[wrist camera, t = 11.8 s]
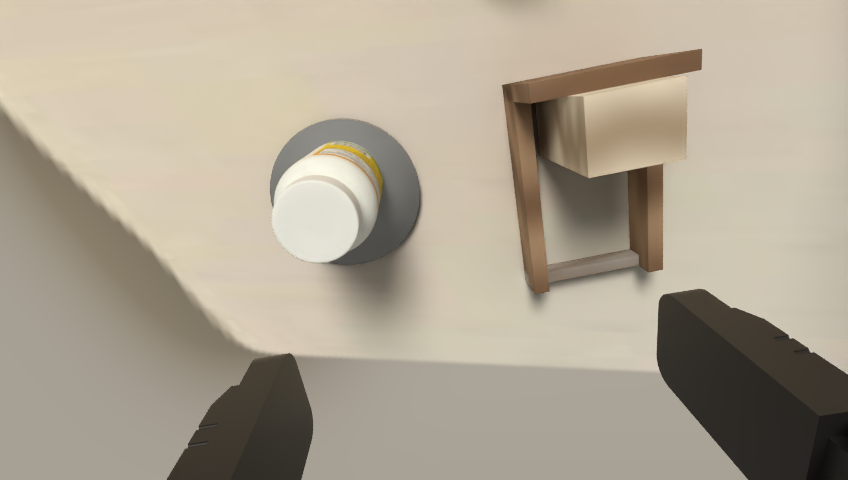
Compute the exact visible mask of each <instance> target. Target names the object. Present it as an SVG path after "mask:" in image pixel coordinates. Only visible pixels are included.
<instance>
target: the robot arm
mask: <svg viewBox="0 0 848 480" xmlns="http://www.w3.org/2000/svg"><path fill="white" fill-rule="evenodd" d="M657 362H658V366H659V370H660V372H661V375H662V377H663V379H664V381H665V382H666V384H667V385H668V386H669V388H670V389H671V390H672V391H673V392H674V393H675V395H676V396H677V397H678V398H679V399H680V400H681V401H682V403H683V404H684V405H685V406H686V407H687V409H688V410H689V411H690V412H691V413H692V414H693V416H694V417H695V418H696V419H697V420H698V421H699V423H700V424H701V425H702V426H703V427H704V428H705V430H706V431H707V432H708V433H709V434H710V436H712V438H713V439H714V440H715V441H716V442H717V444H718V445H719V446H720V447H721V448H722V450H723V451H724V452H725V453H726V454H727V455H728V456H729V458H730V459H731V460H732V461H733V462H734V464H735V465H736V466H737V467H738V468H739V469H740V471H741V472H742V473H743V474H744V475H745V476H746V478H747V479H748V480H848V375H847V374H846V373H844V372H843V371H841V370H840V369H838V368H837V367H835V366H834V365H832V364H831V363H829V362H828V361H826V360H825V359H823V358H822V357H820V356H819V355H817V354H816V353H814V352H813V353H810V351H809V349H808V348H807V347H805V346H804V345H802V344H801V343H799V342H798V341H796V340H795V339H790V338H789V336H788V335H787V334H786V333H784V332H783V331H781V330H780V329H778V328H777V327H775V326H774V325H772V324H771V323H769V322H768V321H766V320H765V319H763V318H760V317H757V316H755V315H752V314H750V313H747V312H745V311H742V310H739V309H737V308H730V307H729V306H728V305H726V304H725V303H723V302H722V301H720V300H719V299H718V298H716V297H715V296H713V295H712V294H710V293H709V292H708V291H706V290H703V289H695V290H689V291H683V292H677V293H670V294H665V295H663V296H662V297H661V298H660V301H659V308H658V334H657ZM312 435H313V417H312V411H311V407H310V404H309V401H308V398H307V394H306V392H305V389H304V385H303V382H302V379H301V376H300V372H299V369H298V366H297V363H296V360H295V358H294V357H293V355H292V354H290V353H288V354H282V355H275V356H269V357H264V358H257V359H255V360H253V361H252V363H251V364H250V366H249V368H248V370H247V372H246V374H245V375H244V377H243V379H242V381H241V383H240V385H237V386H231V387H230V388H229V389H228V390H227V391H226V392H225V393H224V394H223V395H222V396H221V397H220V398H218V399H217V400H216V401H215V402H214V403H213V404H212V405H211V407H210V408H209V410H208V412H207V413H206V415H205V417H204V418H203V420H202V422H201V423H200V425H199V430H196V432H195V433H194V435H193V437H192V438H191V440H190V442H189V443H188V448H187V449H185V450H184V452H183V454H182V455H181V457H180V458H179V460H178V462H177V463H176V465H175V467H174V468H173V470H172V472H171V473H170V475H169V477H168V478H167V480H301V478H302V474H303V471H304V467H305V463H306V459H307V455H308V452H309V448H310V444H311V440H312Z"/></svg>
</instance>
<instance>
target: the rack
mask: <svg viewBox="0 0 848 480" xmlns="http://www.w3.org/2000/svg"><path fill="white" fill-rule="evenodd" d="M701 68H702V49H698V50H691V51H684V52H677V53H670V54H662V55H655V56H648V57H641V58H636V59H631V60H626V61H621V62H616V63H611V64H606V65H601V66H596V67H591V68H586V69H581V70H576V71H571V72H566V73H561V74H556V75H551V76H546V77H541V78H536V79H530V80H525V81H520V82H515V83H510V84H505V85H502V86H503V94H504V103H505V111H506V120H507V128H508V136H509V145H510V153H511V161H512V170H513V178H514V187H515V195H516V203H517V212H518V220H519V229H520V237H521V245H522V254H523V262H524V271H525V279H526V281H527V282H528V284H529V285H530V287H531V288H532V290H533V291H534V293H535V294H538V293H544V292H549V282H554V281H559V280H564V279H570V278H575V277H580V276H585V275H590V274H596V273H601V272H606V271H611V270H616V269H622V268H627V267H632V266H637V265H639V266H641V267H642V268H643V269H645V270H646V271H647V272H653V271H658V270H663V164H664V163H669V162H674V161H679V160H684V159H686V136H687V78H688V76H677V77H667V76H672V75H677V74H682V73H687V72H692V71H697V70H701ZM531 103H535V106H536V116H537V127H538V137H539V147H540V156H542V157H544V158H546V159H548V160H550V161H553V162H555V163H557V164H559V165H561V166H563V167H565V168H568V169H570V170H572V171H574V172H576V173H578V174H581V175H583V176H585V177H587V178H592V177H597V176H602V175H607V174H613V173H618V172H623V171H628V188H629V224H630V249H629V250H624V251H619V252H614V253H608V254H603V255H598V256H593V257H588V258H582V259H577V260H572V261H567V262H562V263H557V264H551V265H547V262H546V252H545V242H544V232H543V222H542V212H541V202H540V192H539V182H538V172H537V162H536V151H535V141H534V131H533V121H532V111H531Z"/></svg>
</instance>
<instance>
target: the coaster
mask: <svg viewBox="0 0 848 480" xmlns="http://www.w3.org/2000/svg"><path fill="white" fill-rule="evenodd" d="M334 141H346V142H351V143H354V144H357V145H359V146H361V147H363V148H364V149H366V150H367V151H368V152H369V153H370V154H371V155H372V156H373V157H374V158H375V160H376V161H377V163H378V165H379V167H380V169H381V173H382V177H383V189H382V194H381V199H380V204H379V209H378V214H377V219H376V222H375V224H374V227H373V229H372V231H371V232H370V234H369V235H368V237H367V238H366V239H365V240H364V241H363V242H362V243H361V244H360V245H359V246H357V247H356V248H354V249H352V250H350V251H348V252H347V253H346V254H345V255H343V256H341V257H340V258H338V259H336V260H333V261H330V262H332V263H336V264H360V263H366V262H369V261H373V260H375V259H378V258H380V257H382V256H384V255H386V254H388V253H389V252H390V251H392V250H393V249H395V248H396V247H397V246H398V245H399V244H400V243H401V242H402V241H403V240H404V238H405V237H406V236H407V235H408V233H409V231H410V230H411V228H412V226H413V224H414V222H415V219H416V216H417V213H418V209H419V202H420V189H419V181H418V177H417V173H416V170H415V167H414V165H413V163H412V161H411V159H410V157H409V155H408V154H407V152H406V151H405V150H404V148H403V147H402V146H401V145H400V144H399V143H398V142H397V140H396V139H395V138H393V137H392V136H391V135H389V134H388V133H387V132H385V131H384V130H382V129H380V128H379V127H377V126H374V125H372V124H370V123H367V122H363V121H360V120H354V119H331V120H326V121H322V122H318V123H316V124H313V125H311V126H309V127H307V128H305V129H303V130H302V131H300V132H299V133H297V134H296V135H295V136H294V137H293V138H291V139H290V140H289V142H288V143H287V144H286V145H285V146H284V148H283V149H282V150H281V152H280V153H279V155H278V157H277V159H276V162H275V164H274V167H273V170H272V175H271V181H270V195H271V202H272V206H273V207H274V195H275V190H276V187H277V185H278V182H279V180H280V179H281V177H282V176H283V174H284V173H285V172H286V171H287V170H288V168H290V167H291V166H292V165H293V164H295V163H296V162H297V161H299V160H301V159H302V158H304V157H305V156H307V155H308V154H309V153H311V152H312V151H314V150H315V149H317V148H318V147H320V146H322V145H324V144H326V143H329V142H334Z"/></svg>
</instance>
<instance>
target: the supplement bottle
mask: <svg viewBox="0 0 848 480" xmlns="http://www.w3.org/2000/svg"><path fill="white" fill-rule="evenodd" d="M382 189H383V177H382V173H381V169H380V167H379V165H378V163H377V161H376V160H375V158H374V157H373V156H372V155H371V154H370V153H369V152H368V151H367V150H366V149H364V148H363V147H361V146H359V145H357V144H354V143H351V142H346V141H334V142H329V143H326V144H324V145H322V146H320V147H318V148H317V149H315V150H314V151H312V152H311V153H309V154H308V155H307V156H305V157H304V158H302V159H301V160H299V161H297V162H296V163H295V164H293V165H292V166H291V167H290V168H288V170H287V171H286V172H285V173H284V174H283V176H282V177H281V179H280V180H279V182H278V185H277V187H276V190H275V195H274V207H273V211H272V217H271V218H272V227H273V231H274V234H275V236H276V238H277V240H278V242H279V243H280V244H281V246H282V247H283V248H284V249H285V250H286V251H287V252H288V253H290V254H291V255H292V256H294V257H296V258H298V259H300V260H302V261H306V262H310V263H326V262H330V261H333V260H336V259H338V258H340V257H341V256H343V255H345V254H346V253H347V252H348V251H350V250H352V249H354V248H356V247H357V246H359V245H360V244H361V243H362V242H363V241H364V240H365V239H366V238H367V237H368V235H369V234H370V232H371V231H372V229H373V227H374V224H375V222H376V219H377V214H378V209H379V204H380V199H381V194H382Z"/></svg>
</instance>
